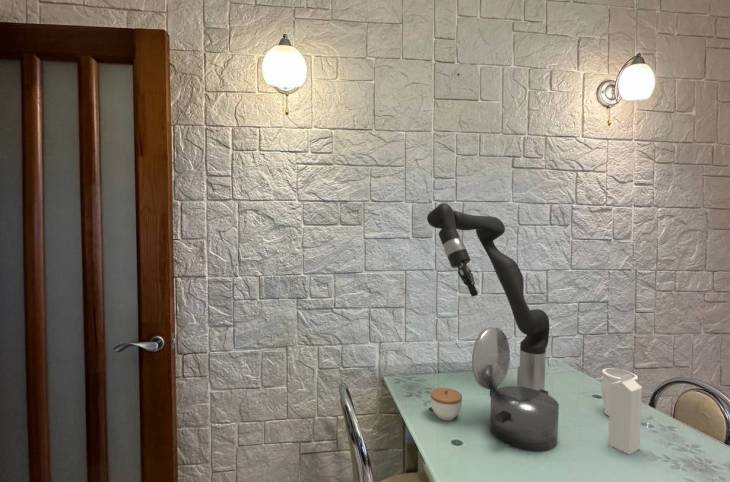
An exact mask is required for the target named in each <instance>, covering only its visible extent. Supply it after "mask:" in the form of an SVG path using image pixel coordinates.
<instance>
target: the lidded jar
mask: <svg viewBox="0 0 730 482" xmlns="http://www.w3.org/2000/svg"><path fill="white" fill-rule="evenodd" d="M430 403H431V408H432V410H433V413H434V414H435V415H436V417H438V419H440V420H443V421H452V420H454V419H455V418H456V417H457V416H458V415H459V413H460V411H461V409H462V403H463V395H462V393H461V392H460V391H458V390H456V389H453V388H449V387H437V388H434V389H432V390H431V391H430Z"/></svg>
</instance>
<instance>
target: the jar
mask: <svg viewBox="0 0 730 482" xmlns="http://www.w3.org/2000/svg"><path fill="white" fill-rule="evenodd" d="M601 373H602V375H603V377H602V381H601V393H602V394H601V395H602V402H603V405H604V407H605V408H604V410H603V412H604V414H605V415H607V416H608V417H609V409H610V384H612V383H615V382H618V381H620V380H621V377H623V376H626V375H628V374H632V379H633V380H634V381H635V382H637V381H638V379H639V378H638V375H636V374H635V373H633V372H631V371H629V370H628V371H627V370H625V369H621V368H613V367H611V368H610V367H608V368H607V367H606V368H604V369H602V371H601Z"/></svg>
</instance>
